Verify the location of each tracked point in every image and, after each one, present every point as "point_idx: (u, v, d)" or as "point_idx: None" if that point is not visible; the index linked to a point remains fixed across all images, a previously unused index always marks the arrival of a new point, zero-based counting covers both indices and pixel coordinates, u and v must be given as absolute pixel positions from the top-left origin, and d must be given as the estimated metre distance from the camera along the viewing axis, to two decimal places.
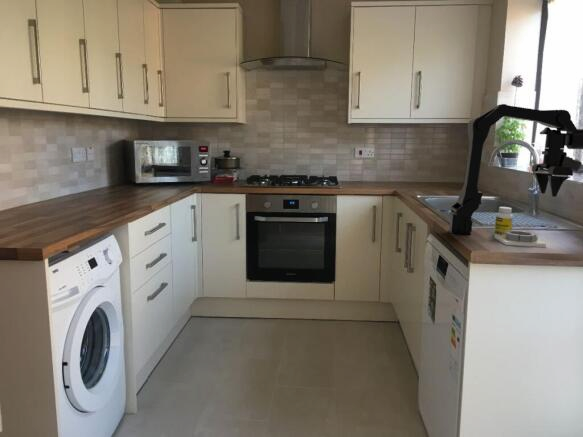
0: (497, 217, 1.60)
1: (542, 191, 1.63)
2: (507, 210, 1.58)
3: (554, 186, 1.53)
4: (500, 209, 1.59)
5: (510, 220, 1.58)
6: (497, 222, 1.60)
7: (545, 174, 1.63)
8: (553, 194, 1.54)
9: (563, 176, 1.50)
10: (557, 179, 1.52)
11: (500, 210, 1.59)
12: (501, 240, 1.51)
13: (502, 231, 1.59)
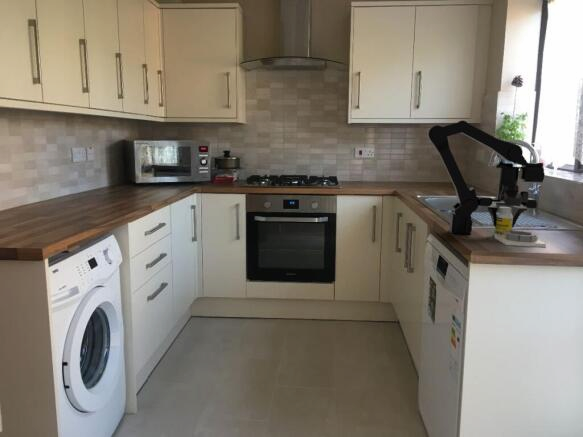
0: (497, 217, 1.60)
1: None
2: (507, 210, 1.58)
3: (491, 216, 1.61)
4: (500, 209, 1.59)
5: (510, 220, 1.58)
6: (497, 222, 1.60)
7: (515, 208, 1.59)
8: (493, 224, 1.62)
9: (486, 206, 1.60)
10: None
11: (500, 210, 1.59)
12: (501, 240, 1.51)
13: (502, 231, 1.59)
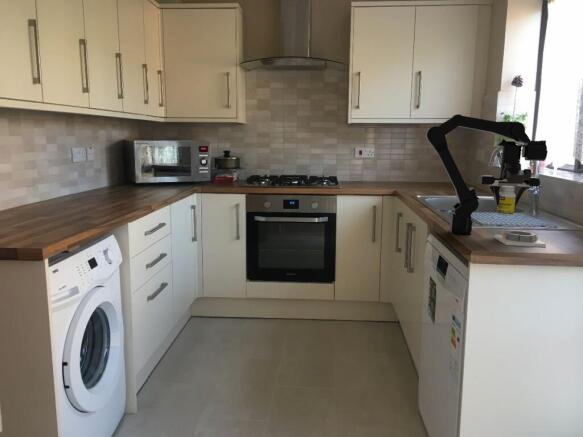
0: (500, 196, 1.58)
1: None
2: (510, 189, 1.57)
3: (493, 195, 1.60)
4: (503, 188, 1.58)
5: (513, 198, 1.57)
6: (500, 201, 1.58)
7: (518, 187, 1.58)
8: (495, 203, 1.60)
9: (489, 185, 1.58)
10: None
11: (503, 189, 1.58)
12: (501, 240, 1.51)
13: (505, 210, 1.57)
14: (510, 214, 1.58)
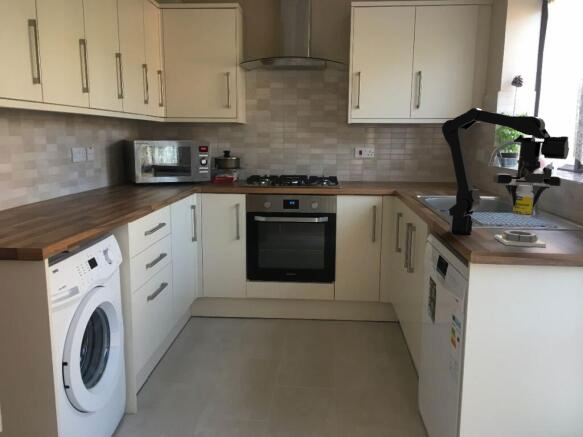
0: (516, 196, 1.48)
1: None
2: (528, 188, 1.46)
3: (510, 195, 1.50)
4: (520, 187, 1.48)
5: (531, 198, 1.47)
6: (516, 201, 1.48)
7: (536, 186, 1.48)
8: (512, 203, 1.50)
9: (505, 184, 1.48)
10: None
11: (520, 188, 1.48)
12: (501, 240, 1.51)
13: (522, 211, 1.47)
14: (528, 215, 1.47)
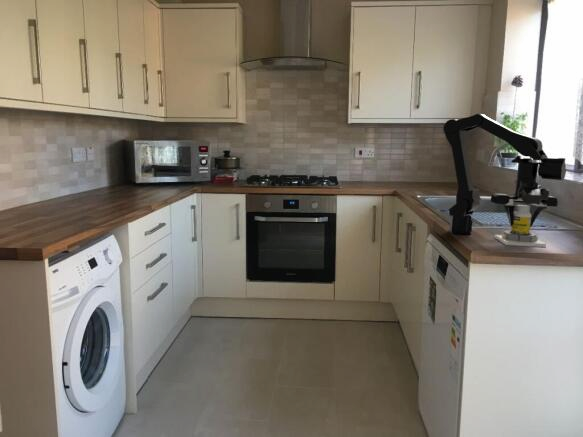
0: (514, 216, 1.49)
1: None
2: (525, 208, 1.48)
3: (508, 214, 1.51)
4: (518, 208, 1.49)
5: (529, 219, 1.48)
6: (514, 221, 1.49)
7: (534, 206, 1.49)
8: None
9: (503, 204, 1.49)
10: None
11: (517, 208, 1.49)
12: (501, 240, 1.51)
13: (520, 231, 1.48)
14: None
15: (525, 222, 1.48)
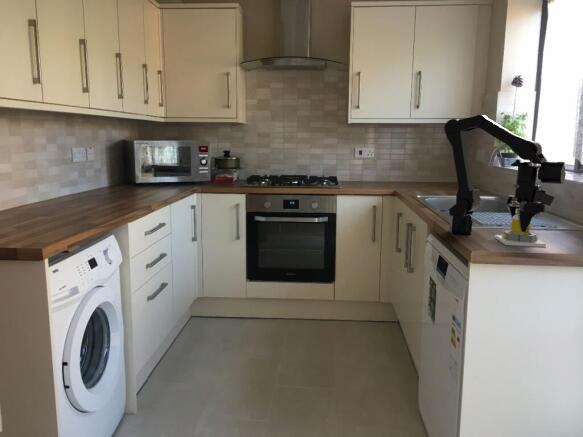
0: None
1: None
2: None
3: (523, 221, 1.46)
4: None
5: None
6: None
7: None
8: (522, 229, 1.47)
9: (532, 211, 1.43)
10: (526, 214, 1.46)
11: None
12: (501, 240, 1.51)
13: (528, 234, 1.50)
14: None
15: None
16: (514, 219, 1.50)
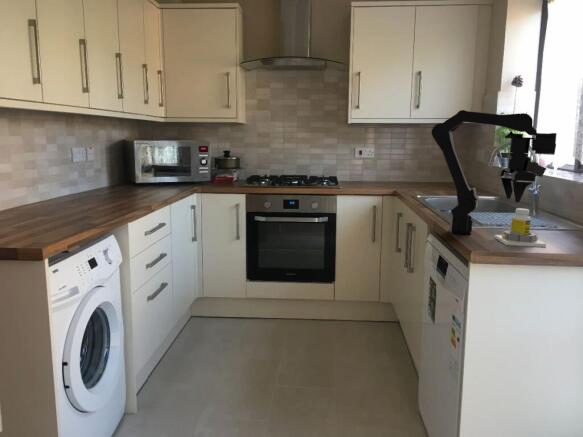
0: (527, 221, 1.48)
1: (507, 196, 1.59)
2: None
3: (517, 192, 1.49)
4: (527, 212, 1.48)
5: None
6: (527, 226, 1.48)
7: (511, 179, 1.59)
8: (516, 200, 1.50)
9: (525, 182, 1.46)
10: (520, 184, 1.49)
11: (527, 213, 1.48)
12: (501, 240, 1.51)
13: (528, 234, 1.50)
14: None
15: None
16: (514, 219, 1.50)
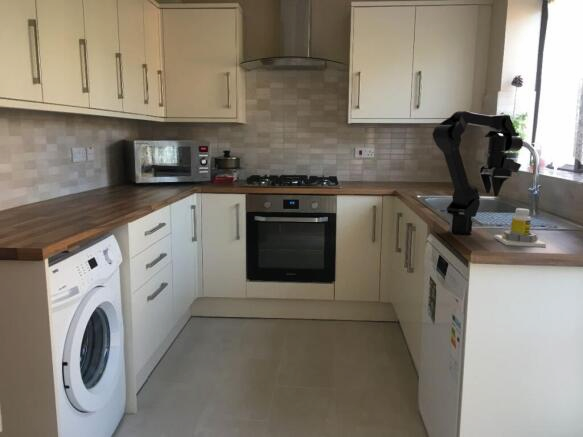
0: (527, 221, 1.48)
1: (487, 191, 1.73)
2: None
3: (495, 186, 1.63)
4: (527, 212, 1.48)
5: None
6: (527, 226, 1.48)
7: (489, 175, 1.73)
8: (494, 194, 1.64)
9: (503, 177, 1.60)
10: (498, 180, 1.62)
11: (527, 213, 1.48)
12: (501, 240, 1.51)
13: (528, 234, 1.50)
14: None
15: None
16: (514, 219, 1.50)
